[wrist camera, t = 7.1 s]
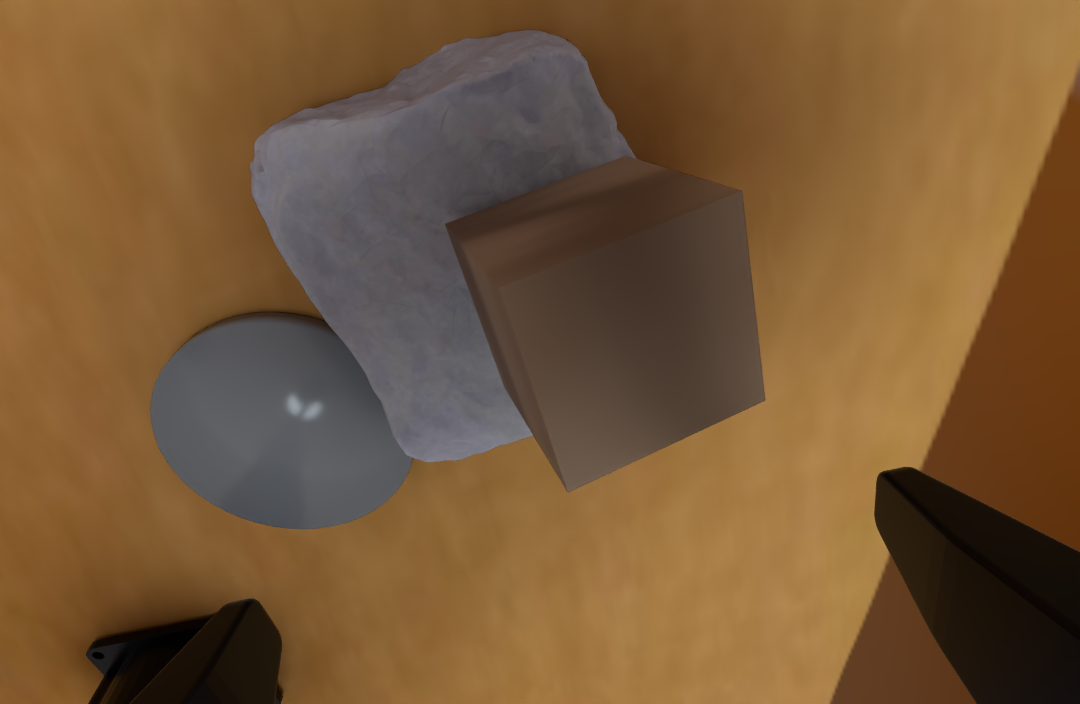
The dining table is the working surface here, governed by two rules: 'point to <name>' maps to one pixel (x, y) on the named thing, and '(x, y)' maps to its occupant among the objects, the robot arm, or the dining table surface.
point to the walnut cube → (616, 310)
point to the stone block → (427, 217)
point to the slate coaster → (276, 423)
